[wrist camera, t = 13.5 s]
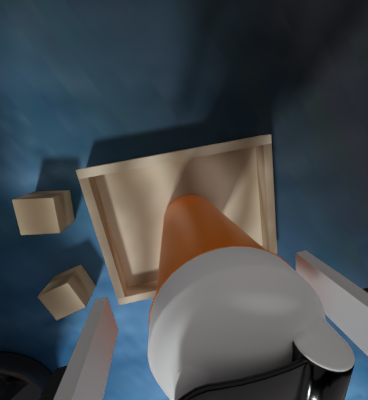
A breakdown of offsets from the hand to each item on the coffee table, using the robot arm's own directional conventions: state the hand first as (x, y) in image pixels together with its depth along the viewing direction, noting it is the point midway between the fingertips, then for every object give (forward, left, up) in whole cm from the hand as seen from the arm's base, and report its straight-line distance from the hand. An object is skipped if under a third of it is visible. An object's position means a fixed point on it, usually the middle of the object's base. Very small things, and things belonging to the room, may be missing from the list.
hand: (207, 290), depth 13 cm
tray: (0, 0, -14) cm, 14 cm away
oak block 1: (-16, +5, -14) cm, 22 cm away
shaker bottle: (+1, 0, -13) cm, 13 cm away
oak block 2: (-17, -6, -14) cm, 23 cm away
